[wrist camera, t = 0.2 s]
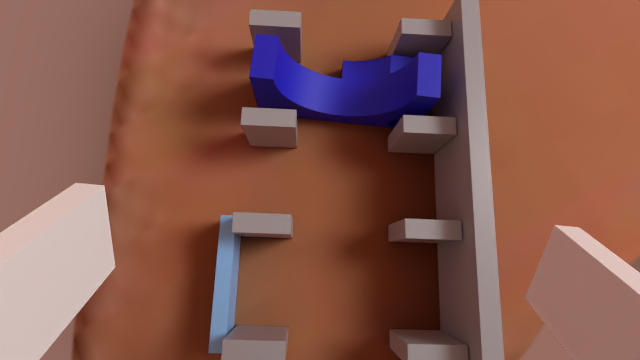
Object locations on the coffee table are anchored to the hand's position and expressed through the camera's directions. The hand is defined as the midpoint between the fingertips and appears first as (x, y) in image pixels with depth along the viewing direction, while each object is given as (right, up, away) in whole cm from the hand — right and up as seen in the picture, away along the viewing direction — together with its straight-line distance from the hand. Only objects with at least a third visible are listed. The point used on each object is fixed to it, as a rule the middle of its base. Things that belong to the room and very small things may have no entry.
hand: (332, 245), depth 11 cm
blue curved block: (+1, +9, +18) cm, 20 cm away
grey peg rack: (+1, +2, +16) cm, 16 cm away
